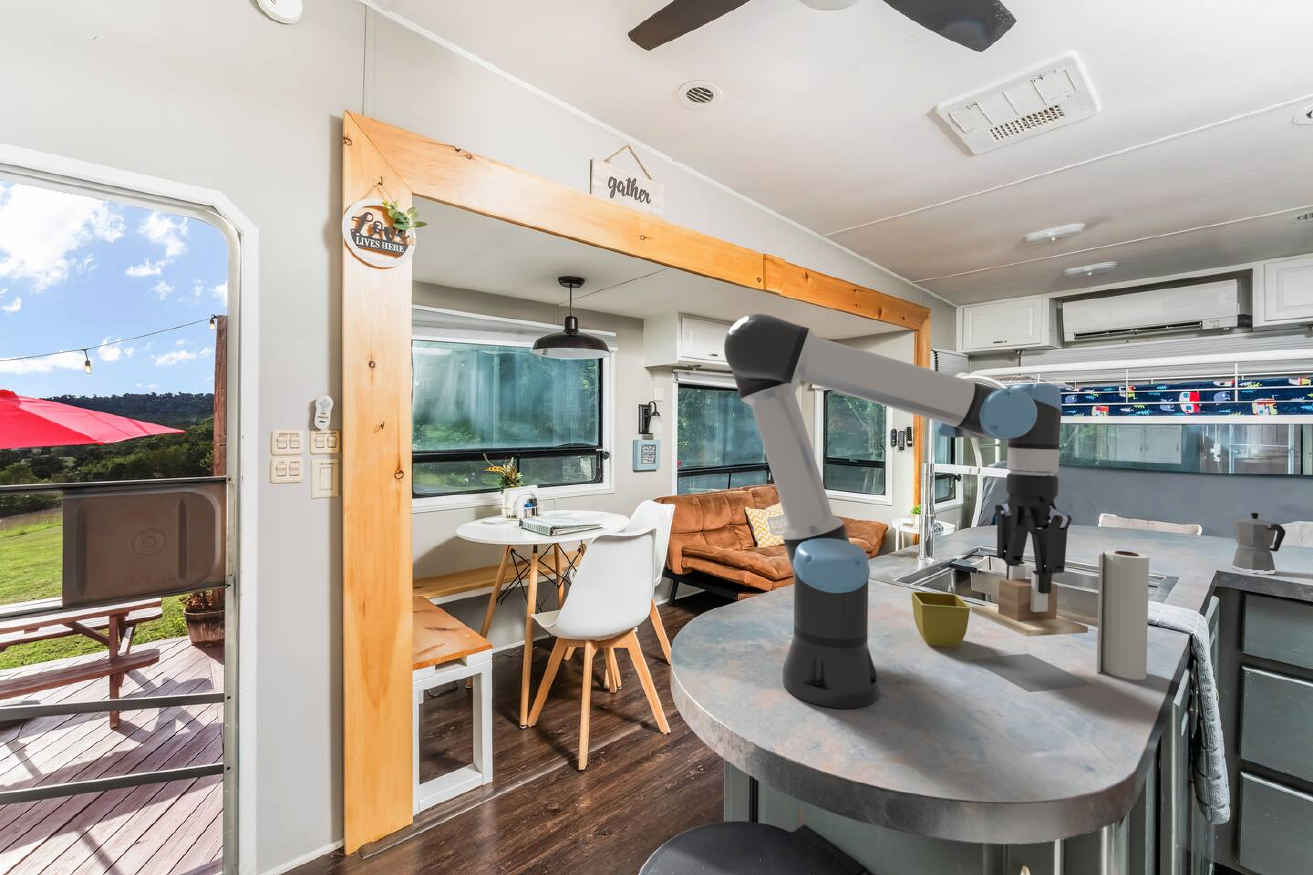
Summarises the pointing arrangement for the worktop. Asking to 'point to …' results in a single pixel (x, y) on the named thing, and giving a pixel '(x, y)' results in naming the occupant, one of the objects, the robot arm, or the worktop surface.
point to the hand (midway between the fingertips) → (1027, 606)
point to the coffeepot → (1256, 543)
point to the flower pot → (940, 618)
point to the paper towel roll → (1123, 614)
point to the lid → (1027, 611)
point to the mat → (1030, 672)
